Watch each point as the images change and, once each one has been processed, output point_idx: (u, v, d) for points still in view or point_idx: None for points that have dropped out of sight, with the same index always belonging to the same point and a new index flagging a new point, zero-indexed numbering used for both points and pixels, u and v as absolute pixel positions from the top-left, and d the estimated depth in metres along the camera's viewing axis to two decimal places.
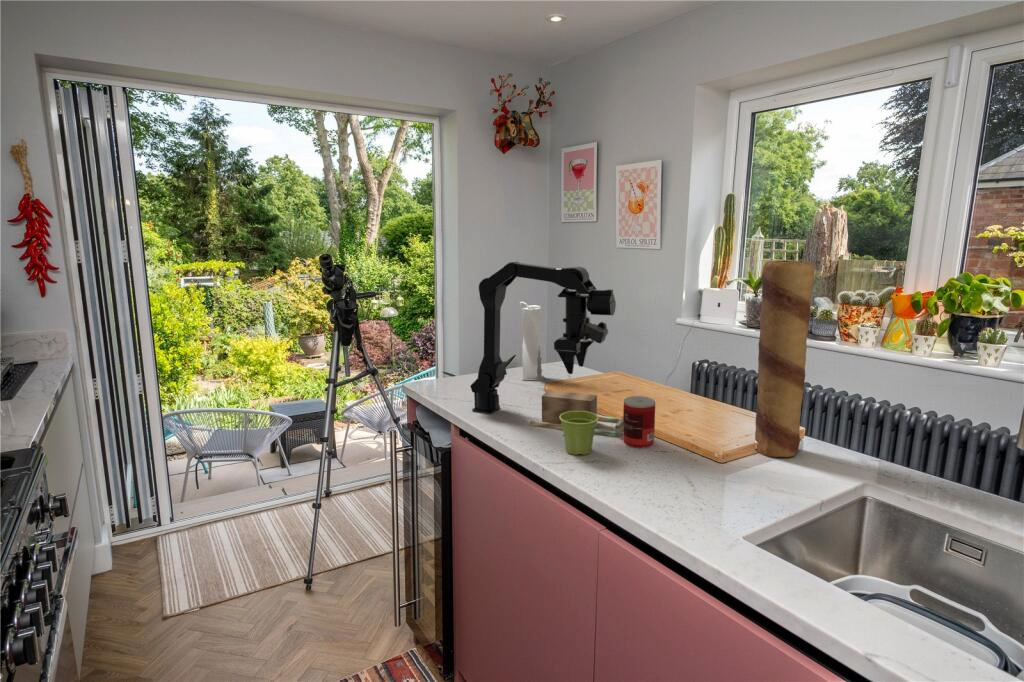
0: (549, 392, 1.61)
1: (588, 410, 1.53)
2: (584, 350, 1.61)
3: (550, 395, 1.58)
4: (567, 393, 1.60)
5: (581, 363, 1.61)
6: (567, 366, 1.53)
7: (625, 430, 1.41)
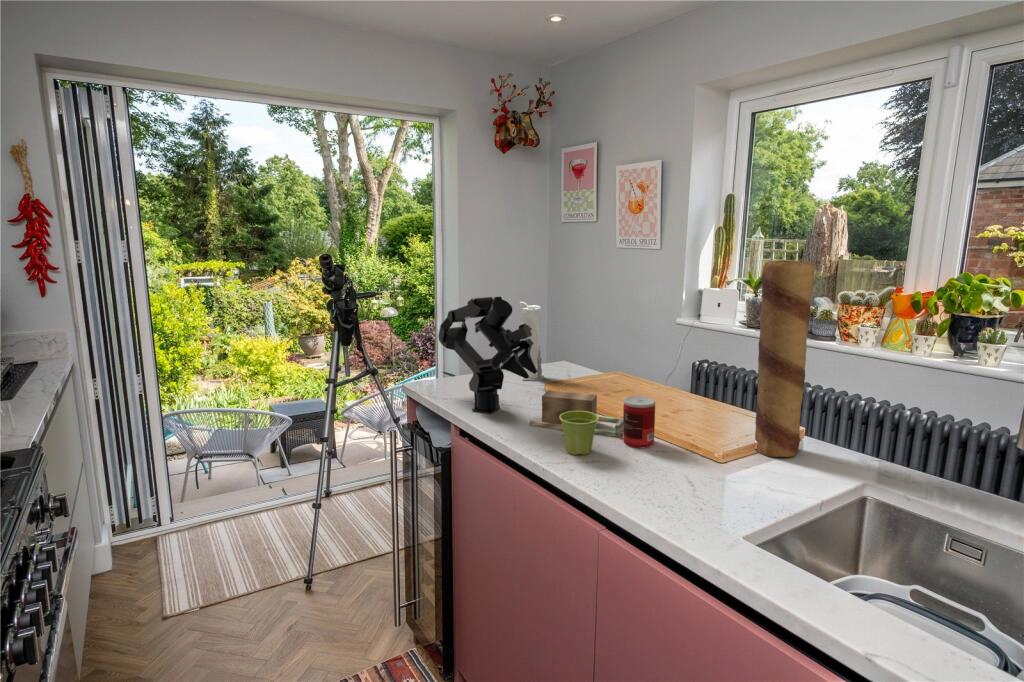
0: (548, 392, 1.61)
1: (589, 410, 1.53)
2: (527, 358, 1.65)
3: (550, 395, 1.58)
4: (566, 393, 1.60)
5: (534, 370, 1.64)
6: (520, 373, 1.59)
7: (625, 430, 1.41)
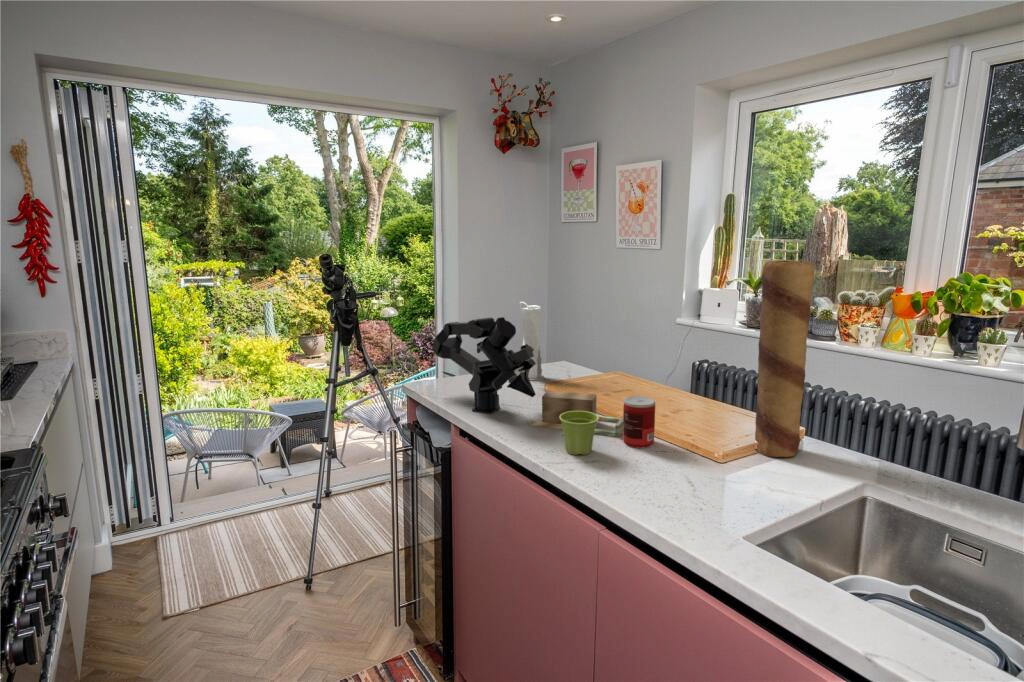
0: (548, 393, 1.60)
1: (590, 409, 1.54)
2: (526, 381, 1.63)
3: (550, 396, 1.58)
4: (566, 393, 1.60)
5: None
6: (526, 392, 1.62)
7: (625, 430, 1.41)
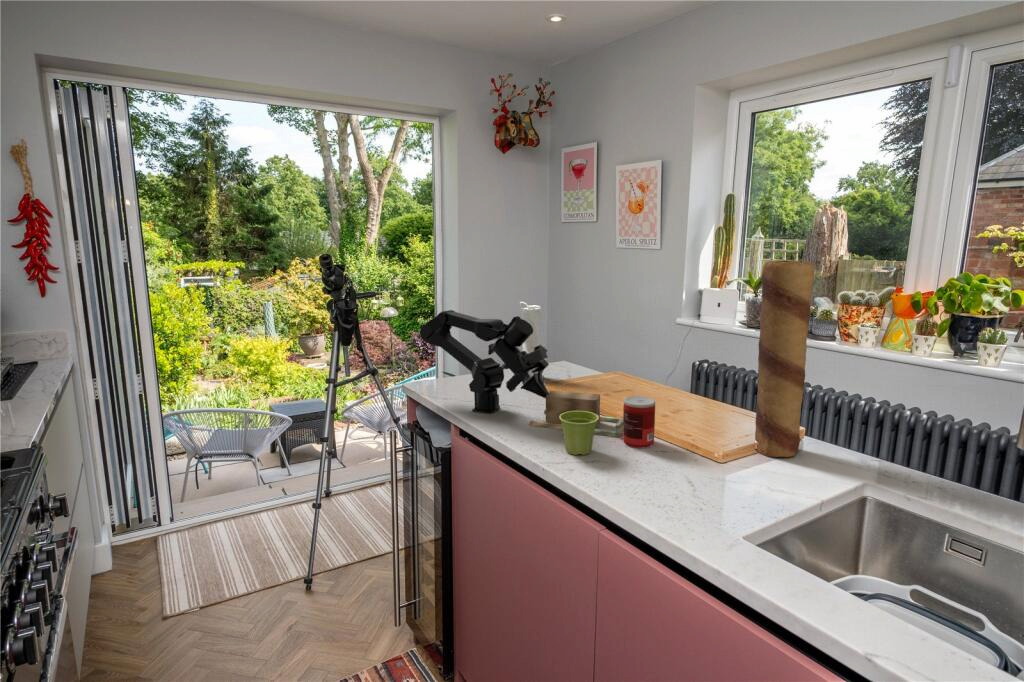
0: (551, 393, 1.60)
1: (594, 409, 1.53)
2: None
3: (554, 396, 1.57)
4: (569, 393, 1.59)
5: None
6: (540, 393, 1.60)
7: (625, 430, 1.41)
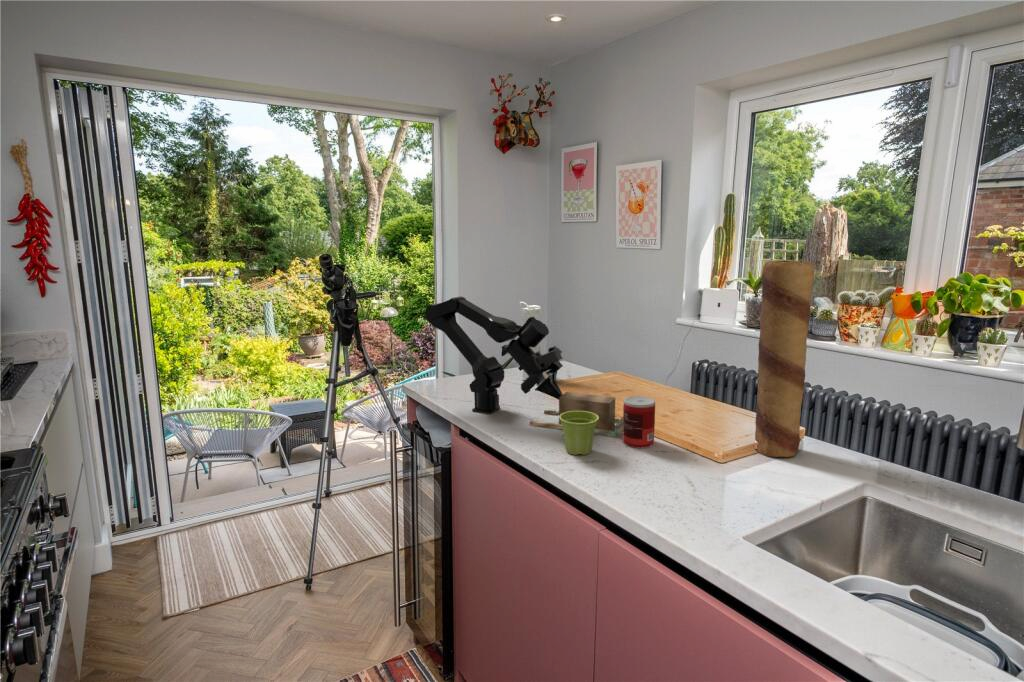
0: (566, 394, 1.58)
1: (606, 412, 1.50)
2: (554, 384, 1.60)
3: (567, 397, 1.55)
4: (584, 395, 1.57)
5: (560, 396, 1.59)
6: (554, 395, 1.59)
7: (625, 430, 1.41)
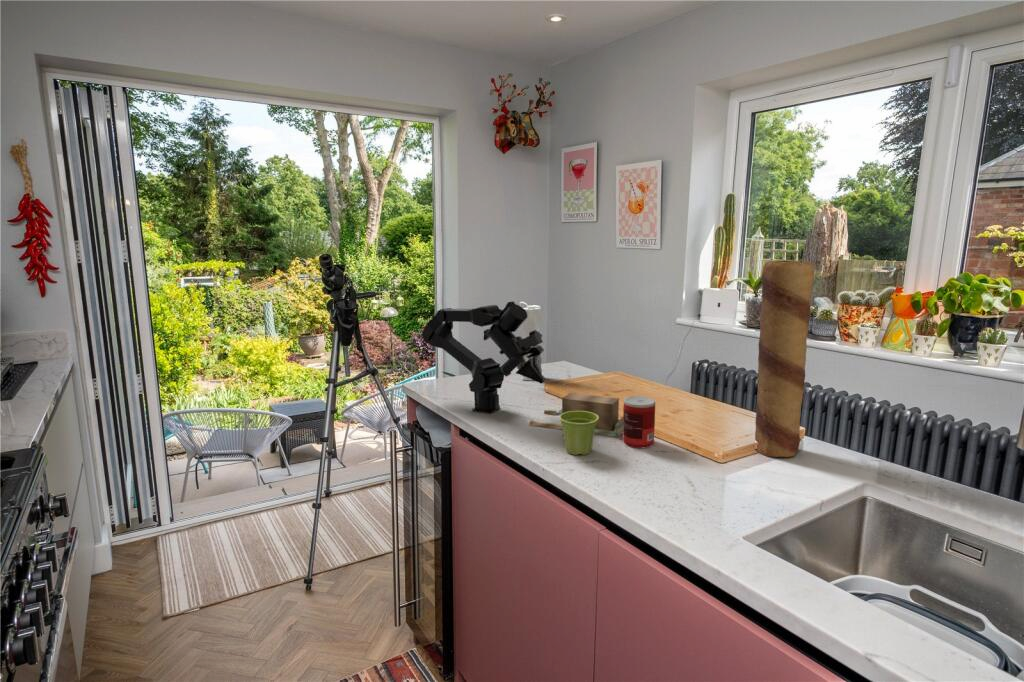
0: (570, 395, 1.58)
1: (610, 413, 1.50)
2: None
3: (571, 398, 1.55)
4: (588, 396, 1.57)
5: None
6: (535, 378, 1.60)
7: (625, 430, 1.41)
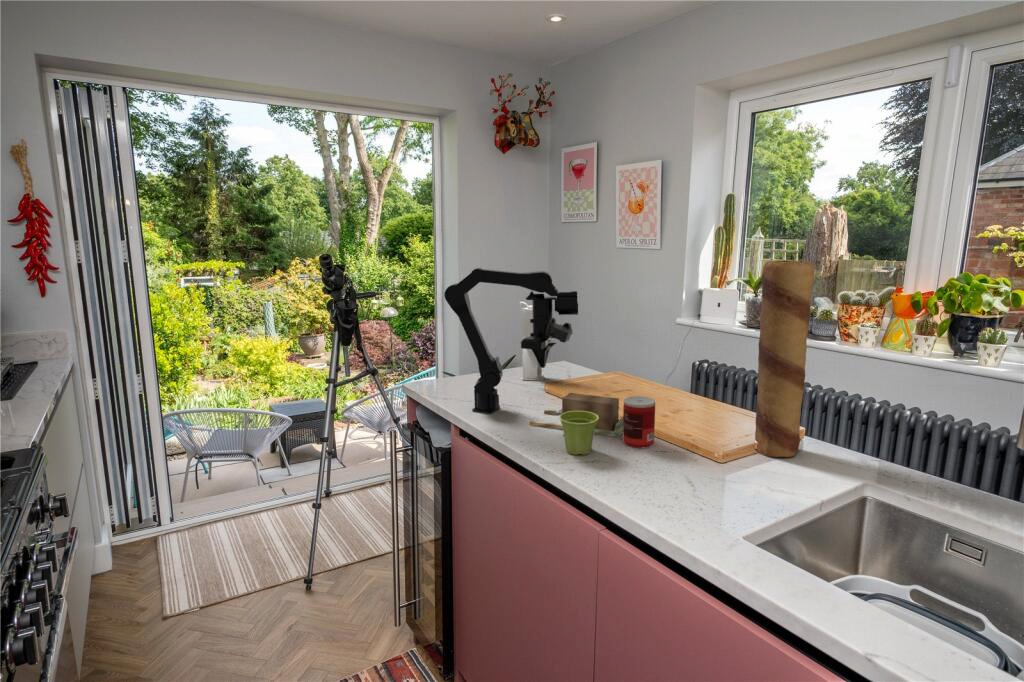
0: (570, 395, 1.58)
1: (610, 413, 1.50)
2: None
3: (571, 398, 1.55)
4: (588, 396, 1.57)
5: None
6: (539, 360, 1.67)
7: (625, 430, 1.41)
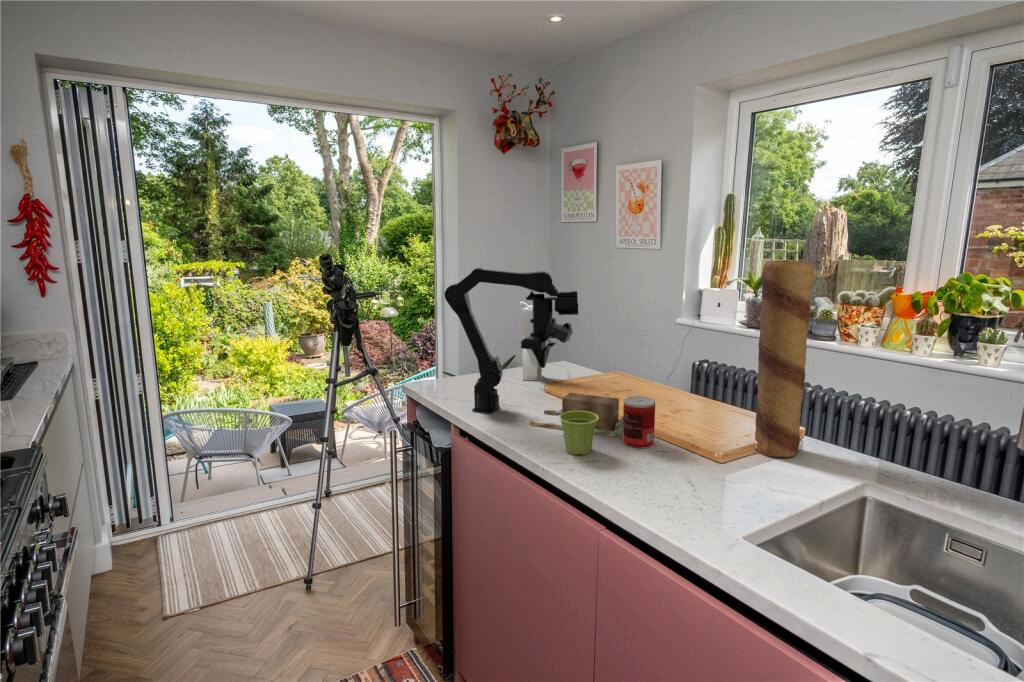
0: (570, 395, 1.58)
1: (610, 414, 1.50)
2: None
3: (571, 398, 1.55)
4: (588, 396, 1.57)
5: None
6: (539, 360, 1.67)
7: (625, 430, 1.41)
